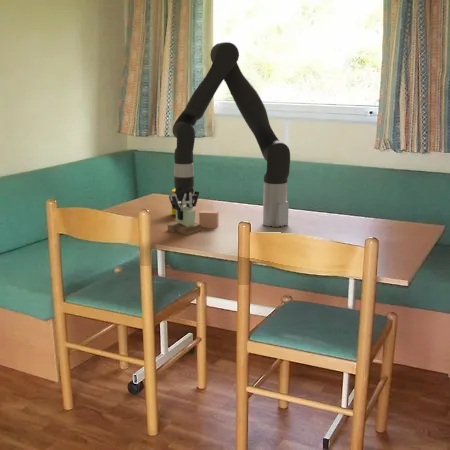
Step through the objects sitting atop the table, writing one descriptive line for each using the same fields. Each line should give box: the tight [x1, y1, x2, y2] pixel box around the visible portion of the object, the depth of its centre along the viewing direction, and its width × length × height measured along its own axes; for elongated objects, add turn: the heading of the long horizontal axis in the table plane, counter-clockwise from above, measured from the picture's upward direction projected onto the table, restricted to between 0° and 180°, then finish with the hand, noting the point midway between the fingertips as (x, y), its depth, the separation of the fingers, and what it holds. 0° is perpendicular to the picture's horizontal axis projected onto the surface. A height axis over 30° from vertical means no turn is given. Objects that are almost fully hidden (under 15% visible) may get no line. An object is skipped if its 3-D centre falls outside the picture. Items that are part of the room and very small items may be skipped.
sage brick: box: [174, 205, 196, 227], centre depth 243 cm, size 7×4×6 cm, turn 45°
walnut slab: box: [167, 221, 202, 236], centre depth 245 cm, size 10×8×3 cm
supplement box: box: [171, 187, 186, 217], centre depth 267 cm, size 6×6×11 cm
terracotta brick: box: [198, 209, 220, 229], centre depth 250 cm, size 7×4×6 cm, turn 80°
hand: (184, 218), depth 244 cm, fingers closed on sage brick, 3 cm apart
